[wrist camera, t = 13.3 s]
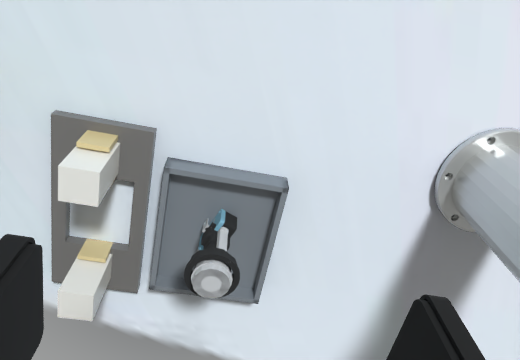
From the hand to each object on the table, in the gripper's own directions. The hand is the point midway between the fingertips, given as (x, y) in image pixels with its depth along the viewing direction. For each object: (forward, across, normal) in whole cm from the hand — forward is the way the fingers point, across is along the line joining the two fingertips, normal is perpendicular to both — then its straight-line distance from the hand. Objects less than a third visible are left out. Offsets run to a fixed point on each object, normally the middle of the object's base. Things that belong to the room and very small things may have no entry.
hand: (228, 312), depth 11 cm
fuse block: (+34, +12, +20) cm, 41 cm away
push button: (+34, -1, +20) cm, 39 cm away
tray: (+34, -1, +20) cm, 40 cm away
